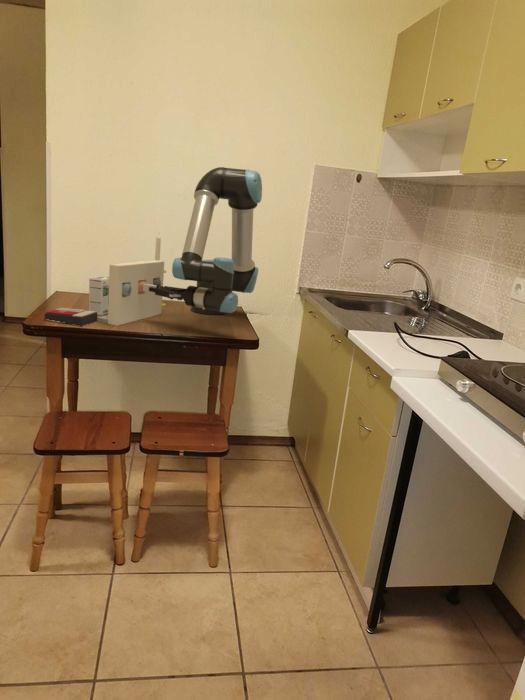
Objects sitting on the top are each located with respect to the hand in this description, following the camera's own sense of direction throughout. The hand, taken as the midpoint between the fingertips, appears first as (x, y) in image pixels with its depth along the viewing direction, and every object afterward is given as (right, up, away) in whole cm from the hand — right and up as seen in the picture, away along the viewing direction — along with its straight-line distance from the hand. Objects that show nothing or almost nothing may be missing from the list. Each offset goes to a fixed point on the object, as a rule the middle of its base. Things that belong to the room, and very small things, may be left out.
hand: (144, 287), depth 199 cm
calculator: (-25, -14, -9) cm, 30 cm away
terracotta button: (-2, -2, +1) cm, 3 cm away
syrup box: (-19, -10, +6) cm, 23 cm away
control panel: (-6, -11, +5) cm, 14 cm away
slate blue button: (-6, -4, -8) cm, 11 cm away
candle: (-3, -4, +35) cm, 36 cm away
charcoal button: (+1, 0, +10) cm, 10 cm away
